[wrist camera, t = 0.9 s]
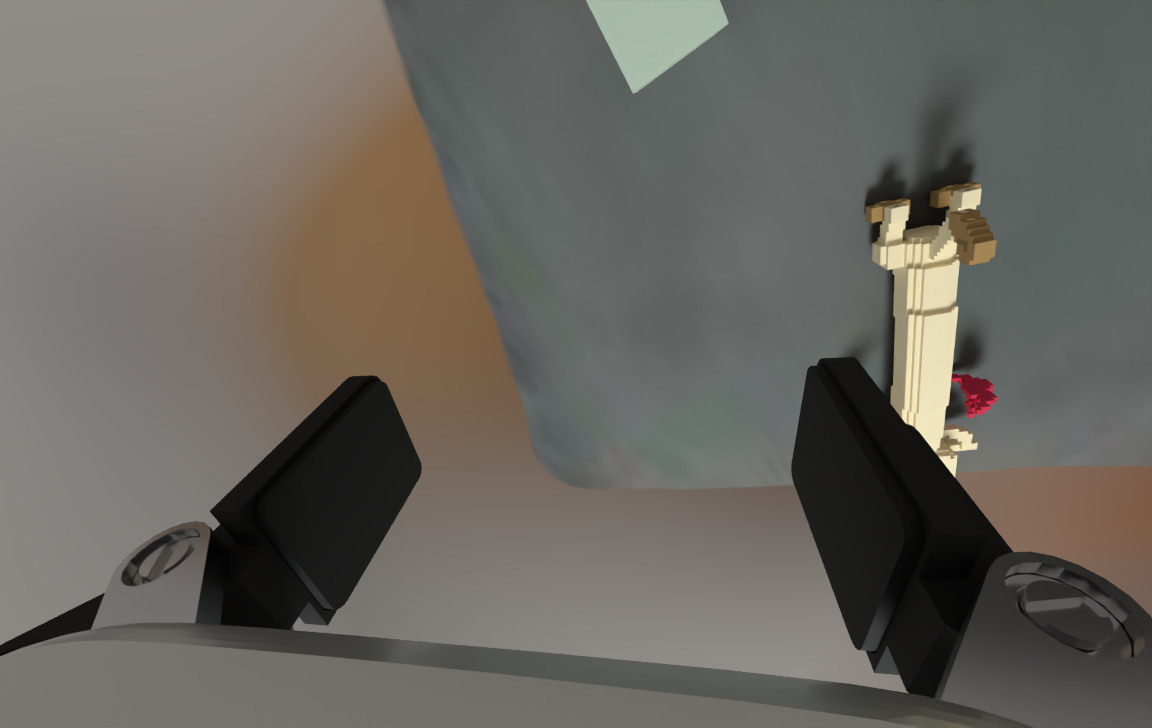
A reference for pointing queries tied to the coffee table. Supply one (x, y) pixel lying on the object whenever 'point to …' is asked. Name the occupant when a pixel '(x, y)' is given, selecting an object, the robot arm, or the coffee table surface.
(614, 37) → the block
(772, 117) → the coffee table surface
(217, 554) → the robot arm
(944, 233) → the cream elongated piece
